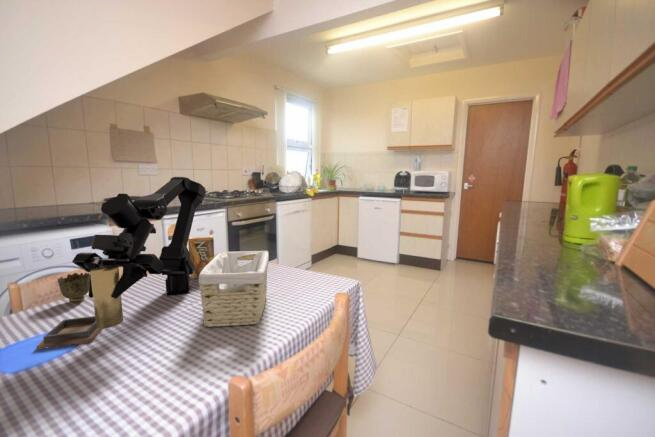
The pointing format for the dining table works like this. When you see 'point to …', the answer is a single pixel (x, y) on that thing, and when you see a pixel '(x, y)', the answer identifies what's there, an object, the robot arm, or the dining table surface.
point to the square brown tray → (71, 332)
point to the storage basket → (234, 288)
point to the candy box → (200, 253)
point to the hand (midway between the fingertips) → (102, 297)
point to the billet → (106, 296)
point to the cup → (75, 286)
